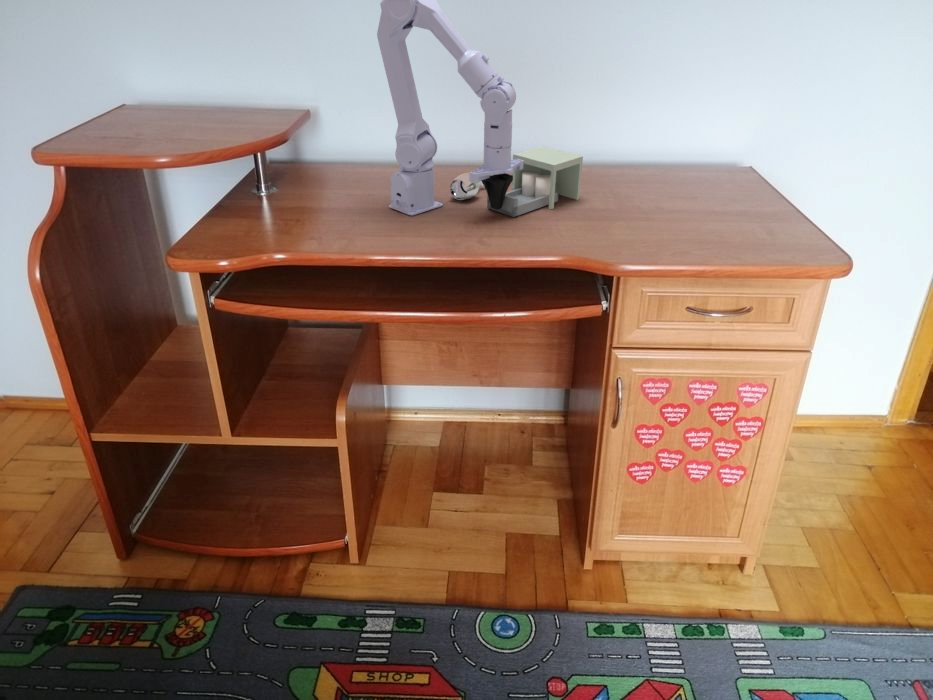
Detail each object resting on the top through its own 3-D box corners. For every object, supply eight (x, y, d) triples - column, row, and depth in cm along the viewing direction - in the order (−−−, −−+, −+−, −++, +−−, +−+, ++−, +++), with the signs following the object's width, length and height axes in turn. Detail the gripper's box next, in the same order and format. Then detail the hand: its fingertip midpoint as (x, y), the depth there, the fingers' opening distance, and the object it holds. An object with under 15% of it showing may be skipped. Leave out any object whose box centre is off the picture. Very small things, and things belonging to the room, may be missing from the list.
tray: (513, 217, 151) (514, 191, 148) (487, 207, 156) (487, 182, 153) (558, 201, 160) (559, 176, 157) (531, 192, 165) (532, 168, 162)
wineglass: (488, 194, 169) (463, 207, 160) (469, 181, 170) (444, 193, 161) (498, 174, 165) (473, 185, 156) (478, 160, 166) (453, 171, 157)
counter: (551, 209, 156) (554, 165, 151) (511, 196, 163) (513, 154, 158) (579, 199, 162) (582, 156, 157) (539, 187, 169) (541, 146, 164)
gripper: (486, 155, 138) (485, 221, 145) (535, 142, 147) (532, 204, 154) (462, 148, 142) (462, 212, 149) (510, 136, 151) (508, 197, 158)
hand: (496, 208), depth 152 cm, fingers closed
